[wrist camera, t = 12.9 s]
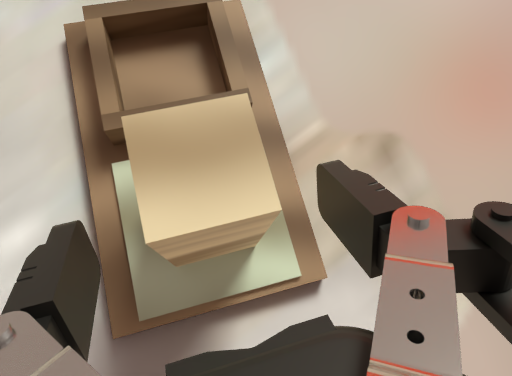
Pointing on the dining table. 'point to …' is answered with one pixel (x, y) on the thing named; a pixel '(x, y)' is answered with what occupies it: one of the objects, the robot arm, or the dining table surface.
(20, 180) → the dining table surface
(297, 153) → the dining table surface
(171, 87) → the puzzle board
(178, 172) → the maple block
